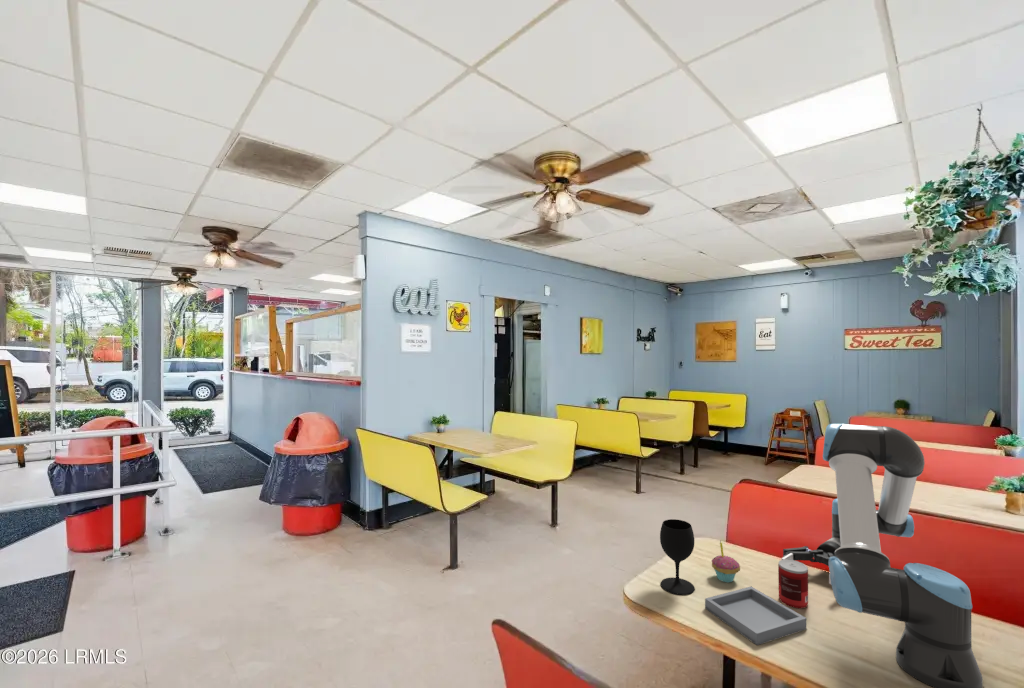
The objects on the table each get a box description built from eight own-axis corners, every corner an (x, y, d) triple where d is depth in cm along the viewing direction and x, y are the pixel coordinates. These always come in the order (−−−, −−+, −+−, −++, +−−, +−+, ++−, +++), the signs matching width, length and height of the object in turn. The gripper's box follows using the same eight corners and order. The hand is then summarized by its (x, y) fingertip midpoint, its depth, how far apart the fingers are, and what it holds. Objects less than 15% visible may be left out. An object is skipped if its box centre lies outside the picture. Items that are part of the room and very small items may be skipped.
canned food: (800, 595, 145) (799, 559, 145) (813, 609, 137) (813, 572, 137) (773, 594, 146) (773, 558, 146) (786, 608, 138) (785, 571, 138)
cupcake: (705, 575, 158) (705, 540, 158) (724, 570, 161) (723, 535, 161) (727, 587, 150) (727, 550, 150) (746, 581, 153) (745, 545, 153)
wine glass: (697, 583, 153) (696, 521, 153) (691, 598, 144) (691, 533, 144) (664, 575, 158) (663, 516, 158) (657, 590, 149) (656, 526, 149)
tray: (806, 629, 128) (806, 618, 128) (756, 645, 122) (756, 633, 122) (751, 596, 145) (751, 586, 145) (705, 608, 138) (705, 598, 138)
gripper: (878, 578, 149) (852, 600, 137) (794, 550, 170) (764, 567, 157) (878, 554, 149) (852, 574, 137) (793, 529, 170) (764, 545, 157)
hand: (805, 571), depth 147 cm, fingers open, 13 cm apart
